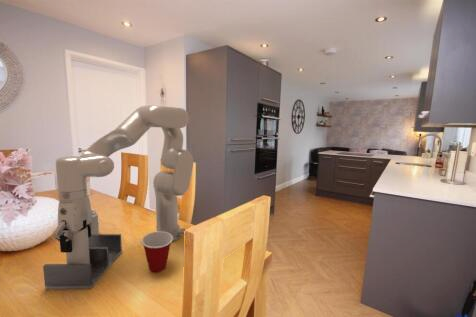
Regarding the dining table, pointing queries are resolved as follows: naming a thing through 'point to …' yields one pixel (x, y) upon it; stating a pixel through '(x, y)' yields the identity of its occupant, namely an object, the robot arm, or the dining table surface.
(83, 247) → the travel mug
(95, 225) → the can
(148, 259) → the plastic cup
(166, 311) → the dining table surface
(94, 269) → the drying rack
